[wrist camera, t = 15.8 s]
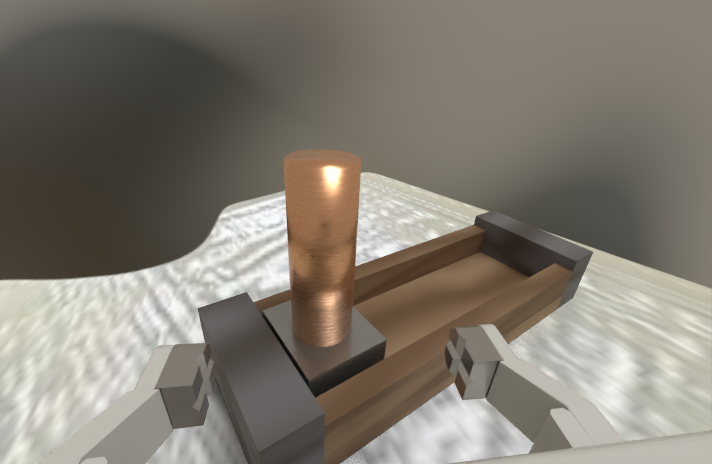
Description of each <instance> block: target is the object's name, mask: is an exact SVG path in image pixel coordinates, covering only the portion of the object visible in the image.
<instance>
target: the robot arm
mask: <svg viewBox="0 0 712 464" xmlns="http://www.w3.org/2000/svg"><path fill="white" fill-rule="evenodd" d="M448 336H449V338H450V341H449V342H448V343H447V344H446V347H445V360H446V364H447V367H448V369H449V371H450V372H451V373H452V374H453V375H455V376H456V379H455V385H456V387H457V389H458V391H459V393H460V396H461V398H462V400H469V399H483V398H486V400H487V401H488V402H489V403H490V404H491V405H493V406H494V407H495V408H496V409H497V410H498V411H499V412H500V413H501V414H502V415H503V416H505V417H506V418H507V419H508V420H509V421H510V422H511V423H512V424H513V425H514V426H515V427H517V428H518V429H519V430H520V431H521V432H522V433H523V434H524V435H525V436H526V437H527V438H529V439H530V440H531V441H532V442H533V443H534V444H533V446H532V448H531V450H530V452H529V454H522V455H514V456H506V457H498V458H490V459H482V460H474V461H466V462H458V463H450V464H712V430H711V431H703V432H696V433H688V434H680V435H672V436H664V437H656V438H648V439H640V440H632V441H624V440H623V439H622V438H621V437H620V435H619V434H618V433H617V432H616V430H615V429H614V428H613V427H612V425H611V424H610V423H609V422H608V421H607V419H606V418H605V417H604V416H603V414H602V413H601V412H600V411H599V410H598V408H597V407H596V406H595V405H594V404H593V403H592V402H590V401H589V400H587V399H585V398H584V397H582V396H580V395H579V394H577V393H576V392H574V391H572V390H571V389H569V388H568V387H566V386H564V385H563V384H561V383H560V382H558V381H556V380H555V379H553V378H552V377H550V376H548V375H547V374H545V373H544V372H542V371H540V370H539V369H537V368H536V367H534V366H532V365H531V364H529V363H528V362H526V361H524V360H523V359H520V360H519V359H518V358H517V357H516V355H515V354H514V352H513V351H512V350H511V348H510V347H509V345H508V344H507V342H506V341H505V340H504V338H503V337H502V335H501V334H500V332H499V331H498V330H497V328H496V327H495V326H494V325H493V324H486V325H472V326H459V327H451V329H450V330H449V334H448ZM211 353H212V350H211V346H210V344H209V343H201V344H177V345H160V346H158V347H157V348H156V349H155V350H154V351H153V353H152V355H151V357H150V359H149V361H148V363H147V365H146V367H145V369H144V371H143V373H142V375H141V377H140V379H139V381H138V383H137V385H136V387H135V389H134V391H130V392H127V393H126V394H125V395H123V396H122V397H121V398H120V399H118V400H117V401H116V402H115V403H113V404H112V405H111V406H109V407H108V408H107V409H106V410H104V411H103V412H102V413H101V414H99V415H98V416H97V417H96V418H94V419H93V420H92V421H91V422H89V423H88V424H87V425H86V426H84V427H83V428H82V429H81V430H79V431H78V432H77V433H76V434H74V435H73V436H72V437H71V438H69V439H68V440H67V441H65V442H64V443H63V444H62V445H60V446H59V447H58V448H57V449H55V450H54V451H53V452H52V453H50V454H49V455H48V456H47V457H45V458H44V459H43V460H42V461H40V463H39V464H146V462H147V461H148V460H149V459H150V458H151V457H152V455H153V454H154V453H155V452H156V451H157V450H158V448H159V447H160V446H161V445H162V444H163V442H164V441H165V440H166V439H167V438H168V437H169V435H170V434H171V433H172V432H173V429H178V428H186V427H194V426H202V425H204V421H205V417H206V414H207V410H208V406H209V403H208V399H207V397H208V396H209V395H210V394H211V393H212V391H213V387H214V383H215V374H216V373H215V363H214V361H213V360H212V359H210V356H211Z"/></svg>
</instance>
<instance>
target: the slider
mask: <svg viewBox="0 0 712 464" xmlns="http://www.w3.org/2000/svg"><path fill="white" fill-rule="evenodd" d="M360 170H361V159H360V158H359V157H358V156H356V155H354V154H351V153H348V152H344V151H338V150H329V149H309V150H300V151H296V152H292V153H289V154H287V155H286V156H285V157H284V174H285V194H286V214H287V234H288V254H289V274H290V293H291V300H290V301H287V302H284V303H282V304H279V305H276V306H274V307H271V308H268V309H266V310H263V318H264V320H265V321H266V323H267V324H268V326H269V328H270V329H271V331H272V332H273V334H274V335H275V337H276V338H277V340H278V341H279V343H280V345H281V346H282V348H283V349H284V351H285V352H286V354H287V355H288V357H289V358H290V360H291V362H292V363H293V365H294V366H295V368H296V369H297V371H298V372H299V374H300V375H301V377H302V379H303V380H304V382H305V383H306V385H307V386H308V388H309V389H310V391H311V392H312V394H313V396H314V397H315V398H316V397H318V396H320V395H321V394H323V393H325V392H327V391H329V390H330V389H332V388H334V387H336V386H337V385H339V384H341V383H343V382H345V381H346V380H348V379H350V378H352V377H353V376H355V375H357V374H359V373H361V372H362V371H364V370H366V369H368V368H369V367H371V366H373V365H375V364H377V363H378V362H380V361H382V360H384V357H385V349H386V341H387V339H386V338H385V337H384V336H383V335H382V334H381V333H380V332H379V331H378V330H377V329H376V328H375V327H374V326H373V325H372V324H371V323H370V322H368V321H367V320H366V319H365V318H364V317H363V316H362V315H361V314H360V313H359V312H358V311H357V310H356V309H355V308H354V307H353V292H354V275H355V258H356V241H357V224H358V207H359V190H360V173H361V171H360Z"/></svg>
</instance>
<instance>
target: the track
mask: <svg viewBox="0 0 712 464" xmlns="http://www.w3.org/2000/svg"><path fill="white" fill-rule="evenodd" d="M592 254H593V252H592V251H590V250H588V249H585V248H583V247H580V246H578V245H576V244H573V243H571V242H568V241H566V240H564V239H561V238H559V237H556V236H554V235H551V234H549V233H547V232H544V231H542V230H539V229H537V228H535V227H532V226H530V225H527V224H525V223H522V222H520V221H518V220H515V219H513V218H511V217H508V216H506V215H503V214H501V213H498V212H496V211H490V212H487V213H484V214H481V215H478V216H476V219H475V223H474V225H472V226H469V227H466V228H464V229H461V230H458V231H455V232H452V233H449V234H447V235H444V236H441V237H438V238H435V239H432V240H429V241H427V242H424V243H421V244H418V245H415V246H412V247H410V248H407V249H404V250H401V251H398V252H395V253H393V254H390V255H387V256H384V257H381V258H378V259H375V260H373V261H370V262H367V263H364V264H361V265H358V266H356V267H355V275H354V292H353V307H354V308H355V309H356V310H357V311H358V312H359V313H360V314H361V315H362V316H363V317H364V318H365V319H366V320H367V321H368V322H370V323H371V324H372V325H373V326H374V327H375V328H376V329H377V330H378V331H379V332H380V333H381V334H382V335H383V336H384V337H385V338H386V339H387V341H386V349H385V357H384V360H382V361H380V362H378V363H377V364H375V365H373V366H371V367H369V368H368V369H366V370H364V371H362V372H361V373H359V374H357V375H355V376H353V377H352V378H350V379H348V380H346V381H345V382H343V383H341V384H339V385H337V386H336V387H334V388H332V389H330V390H329V391H327V392H325V393H323V394H321V395H320V396H318V397H316V398H315V397H314V396H313V394H312V392H311V391H310V389H309V388H308V386H307V385H306V383H305V382H304V380H303V379H302V377H301V375H300V374H299V372H298V371H297V369H296V368H295V366H294V365H293V363H292V362H291V360H290V358H289V357H288V355H287V354H286V352H285V351H284V349H283V348H282V346H281V345H280V343H279V341H278V340H277V338H276V337H275V335H274V334H273V332H272V331H271V329H270V328H269V326H268V324H267V323H266V321H265V320H264V318H263V310H266V309H268V308H271V307H274V306H276V305H279V304H282V303H284V302H287V301H290V300H291V293H290V290H287V291H284V292H282V293H279V294H276V295H273V296H270V297H267V298H264V299H262V300H259V301H256V302H253V301H252V300H251V298H250V297H249V295H248V294H247V292H246V293H243V294H240V295H237V296H234V297H231V298H228V299H225V300H222V301H219V302H216V303H213V304H210V305H207V306H204V307H201V308H198V312H199V317H200V321H201V326H202V330H203V335H204V340H205V343H209V344H210V346H211V350H212V353H211V356H210V359H212V360H213V361H214V363H215V373H216V374H215V380H216V382H217V385H218V387H219V390H220V392H221V395H222V398H223V400H224V403H225V405H226V408H227V410H228V413H229V416H230V418H231V421H232V423H233V426H234V428H235V431H236V434H237V436H238V439H239V441H240V444H241V446H242V449H243V452H244V454H245V457H246V459H247V462H248V464H340V463H341V462H343V461H344V460H345V459H347V458H348V457H350V456H351V455H352V454H354V453H355V452H357V451H358V450H359V449H361V448H362V447H364V446H365V445H366V444H368V443H369V442H371V441H372V440H373V439H375V438H376V437H378V436H379V435H380V434H382V433H383V432H385V431H386V430H388V429H389V428H390V427H392V426H393V425H395V424H396V423H397V422H399V421H400V420H402V419H403V418H404V417H406V416H407V415H409V414H410V413H411V412H413V411H414V410H416V409H417V408H418V407H420V406H421V405H423V404H424V403H425V402H427V401H428V400H430V399H431V398H432V397H434V396H435V395H437V394H438V393H439V392H441V391H442V390H444V389H445V388H447V387H448V386H449V385H451V384H452V383H454V382H455V379H456V376H455V375H453V374H452V373H451V372H450V371H449V369H448V367H447V364H446V360H445V347H446V344H447V343H448V342H449V341H450V338H449V336H448V334H449V330H450V329H451V327H459V326H472V325H486V324H493V325H494V326H495V327H496V328H497V330H498V331H499V332H500V334H501V335H502V337H503V338H504V340H505V341H506V342H507V344H508V343H510V342H511V341H513V340H514V339H515V338H517V337H518V336H520V335H521V334H522V333H524V332H525V331H527V330H528V329H529V328H531V327H532V326H534V325H535V324H536V323H538V322H539V321H541V320H542V319H543V318H545V317H546V316H548V315H549V314H551V313H552V312H553V311H555V310H556V309H558V308H559V307H560V306H562V305H563V304H565V303H566V302H567V301H569V300H570V299H572V298H573V296H574V294H575V292H576V290H577V287H578V285H579V283H580V281H581V278H582V276H583V274H584V272H585V269H586V267H587V265H588V263H589V260H590V258H591V256H592Z"/></svg>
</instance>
